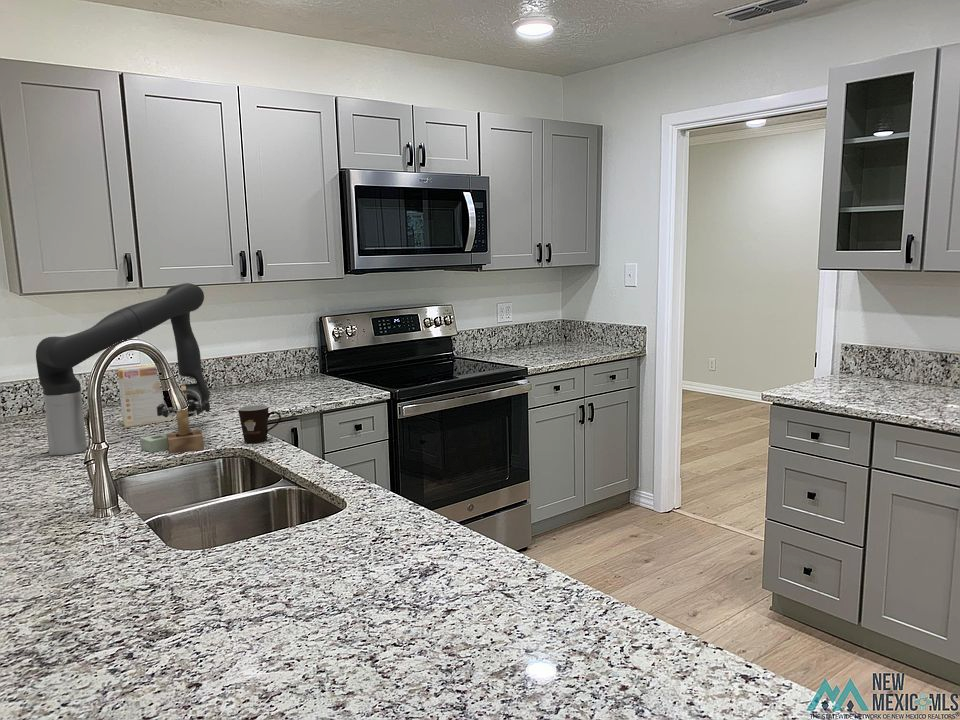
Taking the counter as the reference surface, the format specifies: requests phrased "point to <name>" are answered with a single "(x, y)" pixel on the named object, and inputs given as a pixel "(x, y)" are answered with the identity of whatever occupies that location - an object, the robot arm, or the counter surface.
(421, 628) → the counter surface
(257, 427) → the coffee mug
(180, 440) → the slotted wooden block
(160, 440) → the bead
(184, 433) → the tan wooden bar
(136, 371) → the coffeecake box
